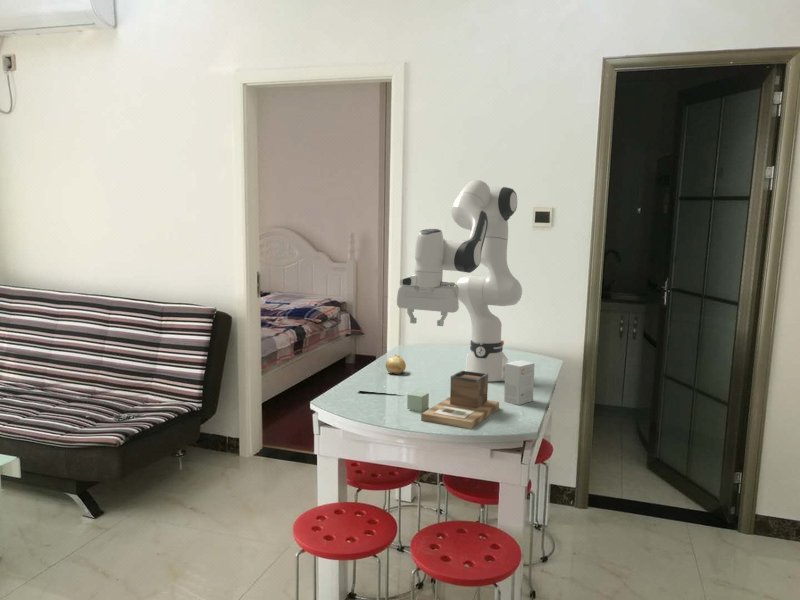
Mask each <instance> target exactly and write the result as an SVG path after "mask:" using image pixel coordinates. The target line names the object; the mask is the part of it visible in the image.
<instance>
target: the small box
mask: <svg viewBox="0 0 800 600" xmlns="http://www.w3.org/2000/svg"><path fill="white" fill-rule="evenodd" d="M534 382H535V362H532V361H526V360H521V359H519V360H514V361H508V363H505V381H504V396H503V397H504V398H503V401H504V402H506V403H509V404H512V405H517V406H521V405H524V404H528V403H530V402H533V401H534V391H535V390H534V385H535V383H534Z"/></svg>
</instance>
